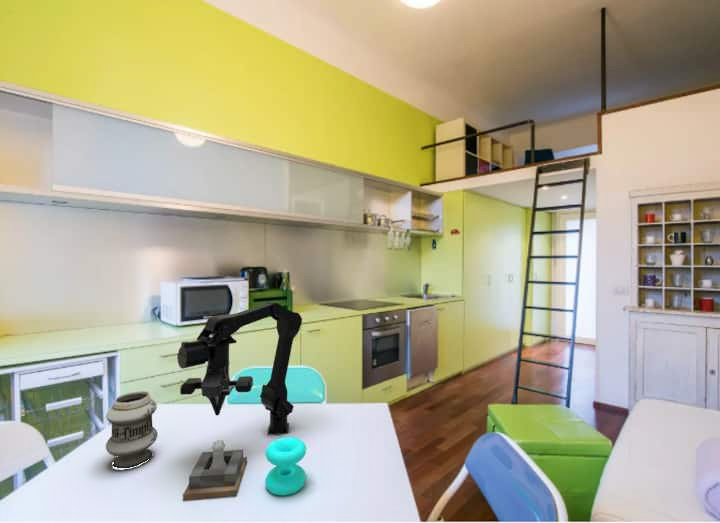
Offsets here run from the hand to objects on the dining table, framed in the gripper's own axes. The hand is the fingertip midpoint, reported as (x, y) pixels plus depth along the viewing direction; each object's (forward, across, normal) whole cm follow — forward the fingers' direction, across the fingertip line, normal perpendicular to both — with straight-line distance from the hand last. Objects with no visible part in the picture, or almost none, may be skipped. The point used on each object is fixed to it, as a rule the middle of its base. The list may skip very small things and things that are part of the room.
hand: (217, 414), depth 98 cm
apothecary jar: (+12, -23, +1) cm, 26 cm away
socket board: (+12, +3, -11) cm, 17 cm away
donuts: (+12, +20, -15) cm, 28 cm away
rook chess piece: (+11, +3, -11) cm, 16 cm away
